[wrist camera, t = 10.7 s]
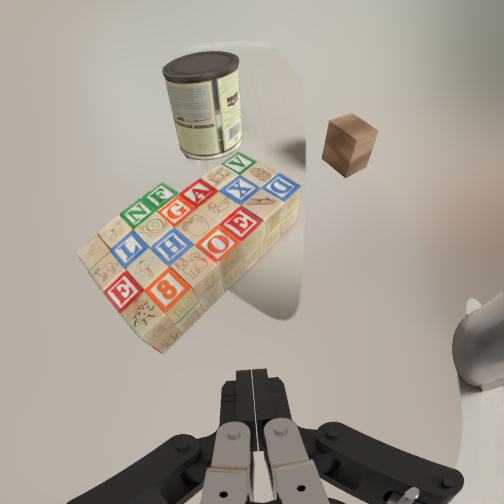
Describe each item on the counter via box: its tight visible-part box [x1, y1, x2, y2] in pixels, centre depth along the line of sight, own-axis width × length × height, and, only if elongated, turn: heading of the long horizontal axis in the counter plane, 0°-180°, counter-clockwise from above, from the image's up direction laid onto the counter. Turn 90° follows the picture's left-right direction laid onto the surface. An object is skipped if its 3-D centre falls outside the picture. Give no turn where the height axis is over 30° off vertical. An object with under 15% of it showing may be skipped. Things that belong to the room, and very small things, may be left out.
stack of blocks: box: [77, 152, 301, 354], centre depth 29 cm, size 21×6×12 cm
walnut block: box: [322, 114, 378, 178], centre depth 37 cm, size 5×5×7 cm
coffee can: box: [162, 51, 242, 160], centre depth 37 cm, size 10×10×14 cm
